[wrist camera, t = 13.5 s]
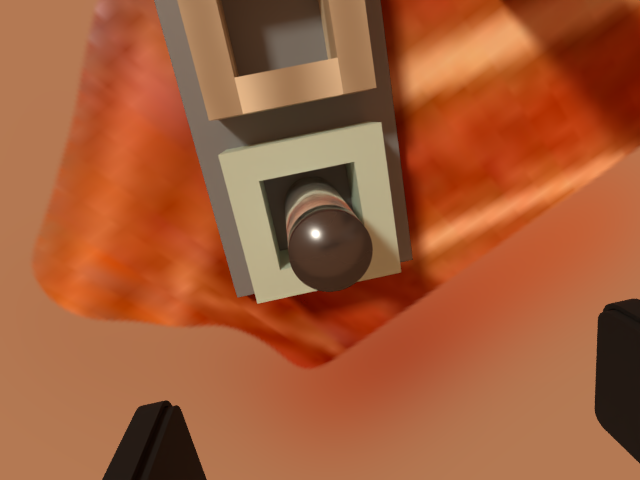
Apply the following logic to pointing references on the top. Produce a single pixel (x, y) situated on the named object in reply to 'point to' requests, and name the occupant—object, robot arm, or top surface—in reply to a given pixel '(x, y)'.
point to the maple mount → (286, 83)
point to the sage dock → (296, 157)
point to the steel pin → (324, 237)
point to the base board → (281, 109)
